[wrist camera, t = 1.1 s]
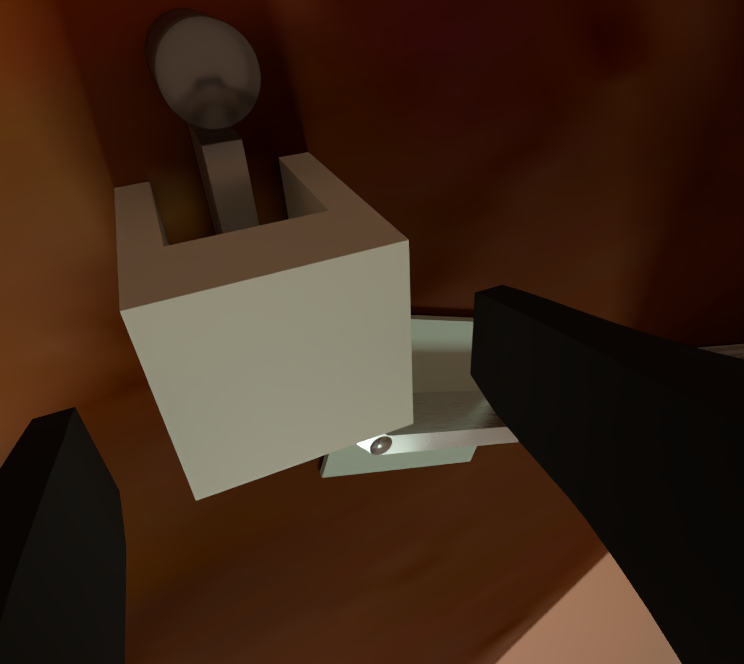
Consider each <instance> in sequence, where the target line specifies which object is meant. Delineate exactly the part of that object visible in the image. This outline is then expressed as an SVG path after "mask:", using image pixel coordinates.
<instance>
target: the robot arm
mask: <svg viewBox="0 0 744 664" xmlns="http://www.w3.org/2000/svg"><path fill="white" fill-rule="evenodd" d="M470 375H471V376H472V378H473V379H474V381H475V383H476V384H477V386H478V387H479V389H480V391H481V392H482V394H483V395H484V397H485V398H486V400H487V401H488V403H489V404H490V406H491V407H492V409H493V410H494V412H495V413H496V414H497V416H498V417H499V418H500V419H501V420H502V422H503V423H504V424H505V425H506V426H507V428H508V429H509V430H510V431H511V432H512V433H513V435H514V436H515V437H516V438H517V439H518V440H519V441H520V443H521V444H522V445H523V446H524V447H525V448H526V450H527V451H528V452H529V453H530V454H531V455H532V456H533V457H534V459H535V460H536V461H537V462H538V463H539V464H540V465H541V467H542V468H543V469H544V470H545V471H546V472H547V473H548V475H549V476H550V477H551V478H552V479H553V480H554V481H555V483H556V484H557V485H558V486H559V487H560V488H561V489H562V491H563V492H564V493H565V494H566V495H567V496H568V497H569V499H570V500H571V501H572V502H573V504H574V505H575V506H576V507H577V509H578V510H579V511H580V512H581V514H582V515H583V516H584V517H585V519H586V520H587V521H588V523H589V524H590V526H591V527H592V528H593V530H594V531H595V533H596V534H597V535H598V537H599V538H600V540H601V541H602V542H603V544H604V545H605V547H606V548H607V549H608V551H609V552H610V554H611V555H612V557H613V558H614V559H615V561H616V562H617V564H618V565H619V567H620V568H621V570H622V571H623V573H624V574H625V575H626V577H627V579H628V580H629V581H630V583H631V585H632V586H633V588H634V589H635V591H636V592H637V593H638V595H639V597H640V598H641V599H642V601H643V602H644V604H645V606H646V607H647V608H648V610H649V612H650V613H651V615H652V617H653V618H654V620H655V621H656V623H657V625H658V626H659V628H660V629H661V631H662V633H663V634H664V636H665V637H666V639H667V641H668V642H669V644H670V645H671V647H672V649H673V650H674V652H675V653H676V654H677V657H678V658H679V660H680V661H681V663H682V664H744V359H741V358H737V357H733V356H728V355H724V354H720V353H716V352H712V351H707V350H703V349H699V348H695V347H692V346H688V345H684V344H681V343H677V342H674V341H670V340H667V339H664V338H660V337H657V336H654V335H651V334H647V333H644V332H641V331H637V330H634V329H631V328H628V327H625V326H622V325H619V324H616V323H613V322H610V321H607V320H604V319H602V318H599V317H596V316H593V315H590V314H587V313H584V312H582V311H579V310H576V309H573V308H570V307H568V306H565V305H562V304H559V303H556V302H554V301H551V300H548V299H545V298H542V297H539V296H536V295H534V294H531V293H528V292H525V291H521V290H518V289H515V288H511V287H508V286H504V285H500V286H497V287H493V288H490V289H486V290H483V291H479V292H476V293H475V300H474V317H473V334H472V351H471V368H470ZM125 605H126V542H125V533H124V524H123V516H122V508H121V500H120V493H119V489H118V488H117V486H116V484H115V482H114V480H113V478H112V476H111V474H110V472H109V471H108V469H107V467H106V465H105V463H104V461H103V459H102V457H101V455H100V453H99V452H98V450H97V448H96V446H95V444H94V442H93V440H92V438H91V436H90V434H89V433H88V431H87V429H86V427H85V425H84V423H83V421H82V419H81V417H80V416H79V414H78V412H77V410H76V408H75V407H73V408H70V409H66V410H63V411H59V412H56V413H52V414H49V415H45V416H42V417H38V418H35V419H32V421H31V422H30V424H29V425H28V427H27V428H26V430H25V431H24V433H23V434H22V436H21V437H20V439H19V440H18V442H17V443H16V445H15V446H14V448H13V449H12V451H11V453H10V454H9V456H8V457H7V459H6V460H5V462H4V464H3V465H2V467H1V468H0V664H124V660H125Z"/></svg>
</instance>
